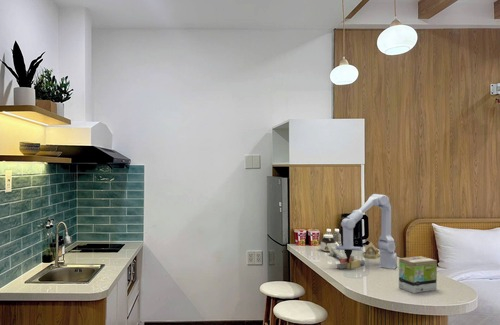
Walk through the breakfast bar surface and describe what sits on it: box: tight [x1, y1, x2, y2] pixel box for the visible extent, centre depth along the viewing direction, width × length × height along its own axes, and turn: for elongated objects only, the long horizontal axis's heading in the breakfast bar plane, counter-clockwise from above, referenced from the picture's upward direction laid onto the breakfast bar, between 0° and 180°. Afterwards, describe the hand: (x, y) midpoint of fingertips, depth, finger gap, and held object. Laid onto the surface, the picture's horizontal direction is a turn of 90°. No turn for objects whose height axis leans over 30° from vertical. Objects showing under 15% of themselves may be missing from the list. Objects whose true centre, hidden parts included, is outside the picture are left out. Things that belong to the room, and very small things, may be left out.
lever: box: [339, 255, 355, 264], centre depth 219 cm, size 12×3×2 cm, turn 134°
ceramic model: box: [362, 241, 380, 259], centre depth 250 cm, size 14×11×10 cm
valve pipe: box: [336, 258, 366, 270], centre depth 222 cm, size 20×6×4 cm, turn 120°
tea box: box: [398, 255, 438, 294], centre depth 182 cm, size 15×10×15 cm
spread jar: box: [320, 233, 341, 254], centre depth 265 cm, size 12×11×12 cm
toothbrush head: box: [329, 247, 347, 260], centre depth 242 cm, size 5×7×25 cm
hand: (348, 262), depth 216 cm, fingers closed, pressing on lever
